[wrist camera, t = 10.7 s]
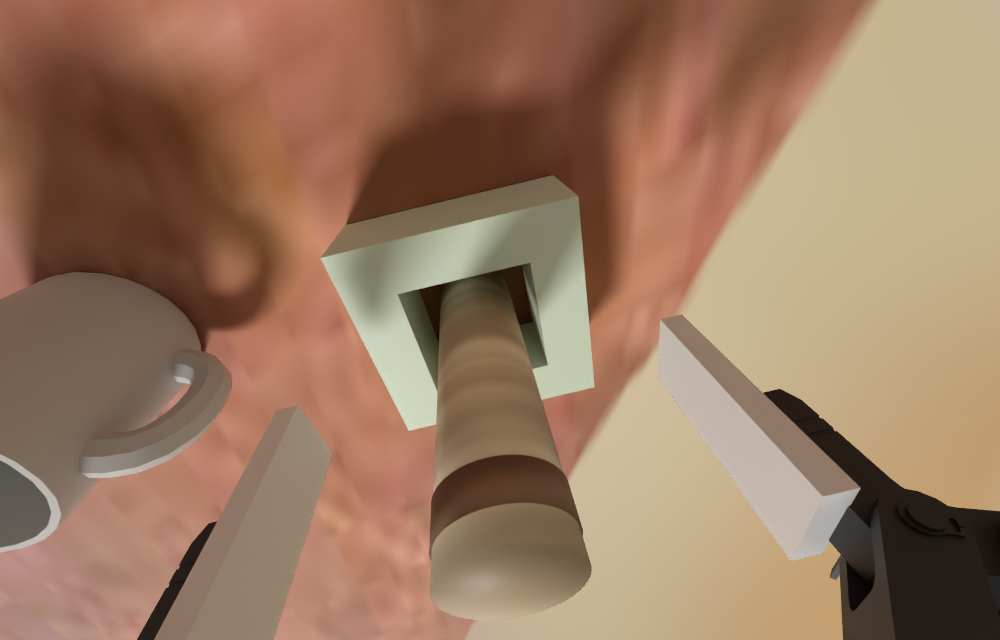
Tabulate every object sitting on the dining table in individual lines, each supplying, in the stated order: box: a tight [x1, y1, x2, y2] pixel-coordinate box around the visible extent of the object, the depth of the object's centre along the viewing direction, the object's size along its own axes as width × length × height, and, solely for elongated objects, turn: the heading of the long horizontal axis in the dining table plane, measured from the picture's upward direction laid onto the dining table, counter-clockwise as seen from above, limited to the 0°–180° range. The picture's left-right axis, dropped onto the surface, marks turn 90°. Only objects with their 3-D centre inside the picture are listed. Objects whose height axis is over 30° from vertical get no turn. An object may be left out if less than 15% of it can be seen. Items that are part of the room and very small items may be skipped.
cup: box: [0, 272, 232, 552], centre depth 15 cm, size 7×10×9 cm
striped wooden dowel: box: [429, 270, 591, 620], centre depth 14 cm, size 4×4×14 cm
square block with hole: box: [321, 175, 594, 431], centre depth 18 cm, size 10×10×4 cm
